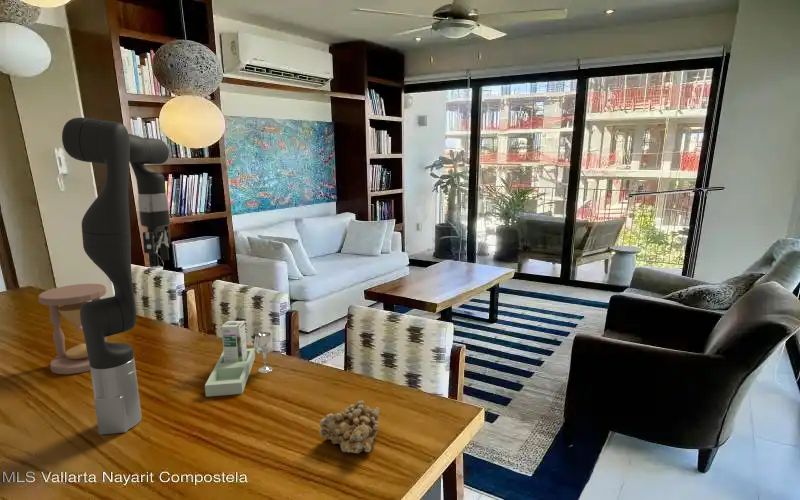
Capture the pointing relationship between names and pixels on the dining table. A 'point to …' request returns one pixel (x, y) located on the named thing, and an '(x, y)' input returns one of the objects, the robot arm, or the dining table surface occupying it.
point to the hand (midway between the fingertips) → (159, 263)
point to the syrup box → (234, 341)
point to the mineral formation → (352, 427)
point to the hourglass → (72, 302)
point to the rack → (229, 376)
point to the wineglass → (264, 348)
